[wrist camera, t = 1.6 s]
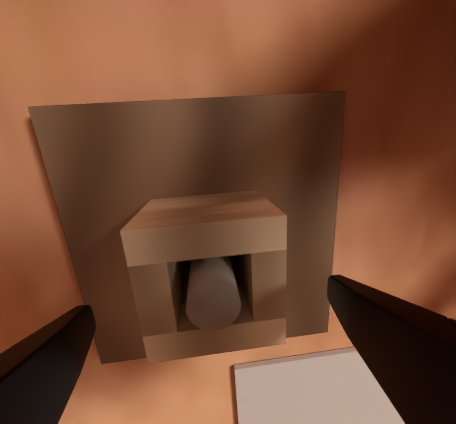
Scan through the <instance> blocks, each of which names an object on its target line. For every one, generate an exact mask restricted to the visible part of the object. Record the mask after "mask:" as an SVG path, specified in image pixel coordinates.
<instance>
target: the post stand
mask: <svg viewBox="0 0 456 424" xmlns="http://www.w3.org/2000/svg"><path fill="white" fill-rule="evenodd" d="M344 101H345V91H336V92H316V93H296V94H275V95H255V96H235V97H214V98H194V99H174V100H153V101H133V102H113V103H93V104H72V105H52V106H32V107H28V109H29V113H30V116H31V120H32V123H33V127H34V130H35V134H36V137H37V141H38V144H39V148H40V151H41V155H42V158H43V162H44V165H45V169H46V172H47V176H48V179H49V183H50V186H51V190H52V193H53V196H54V200H55V203H56V207H57V210H58V214H59V217H60V221H61V224H62V228H63V231H64V235H65V238H66V242H67V245H68V249H69V252H70V256H71V259H72V263H73V266H74V270H75V273H76V277H77V280H78V284H79V287H80V291H81V294H82V298H83V301H84V305H90V306H91V307H92V310H93V314H94V317H95V321H96V330H95V333H94V339H95V343H96V346H97V350H98V353H99V357H100V360H101V364H105V363H112V362H119V361H126V360H133V359H140V358H147V356H146V352H145V347H144V342H143V337H142V333H141V328H140V323H139V319H138V314H137V309H136V304H135V300H134V295H133V290H132V286H131V281H130V276H129V271H128V267H127V262H126V257H125V253H124V248H123V243H122V238H121V234H120V230H121V229H122V228H123V227H124V226H125V225H126V224H127V223H128V222H129V221H130V220H131V219H132V218H133V217H134V216H135V215H136V214H137V213H138V212H139V211H140V210H141V209H142V208H143V207H144V206H145V205H146V204H147V203H148V202H149V201H150V200H151V199H161V198H173V197H185V196H196V195H208V194H220V193H232V192H244V191H255V190H257V191H258V192H259V193H260V194H262V195H263V196H264V197H265V198H266V199H268V200H269V201H270V202H271V203H273V204H274V205H275V206H276V207H278V208H279V209H280V210H281V211H282V212H284V213H285V214H286V215H287V263H286V338H289V337H296V336H303V335H310V334H317V333H324V332H328V320H329V306H330V302H329V300H328V298H327V284H328V277H329V276H332V265H333V252H334V238H335V224H336V211H337V197H338V183H339V170H340V156H341V142H342V128H343V115H344ZM232 264H237V257H236V255H232V256H222V257H213V258H204V259H195V260H185V266H186V269H190V274H189V283H188V293H187V303H186V313H187V316H188V318H189V320H190V321H191V322H192V323H193V324H194V325H195V326H197V327H199V328H201V329H204V330H220V329H223V328H225V327H227V326H229V325H230V324H232V323H233V322H234V321H235V320H236V319H237V317H238V315H239V313H240V310H241V301H240V297H239V293H238V289H237V285H236V280H235V276H234V272H233V268H232Z"/></svg>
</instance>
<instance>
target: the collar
mask: <svg viewBox="0 0 456 424" xmlns="http://www.w3.org/2000/svg"><path fill="white" fill-rule="evenodd" d="M120 234H121V238H122V243H123V248H124V253H125V257H126V262H127V267H128V271H129V276H130V281H131V286H132V290H133V295H134V300H135V304H136V309H137V314H138V319H139V323H140V328H141V333H142V337H143V342H144V347H145V352H146V356H147V361H148V363H155V362H162V361H169V360H176V359H183V358H190V357H197V356H204V355H211V354H218V353H225V352H231V351H238V350H245V349H252V348H259V347H266V346H273V345H280V344H286V263H287V215H286V214H285V213H284V212H282V211H281V210H280V209H279V208H278V207H276V206H275V205H274V204H273V203H271V202H270V201H269V200H268V199H266V198H265V197H264V196H263V195H262V194H260V193H259V192H258V191H257V190H255V191H244V192H232V193H220V194H208V195H196V196H185V197H173V198H161V199H151V200H150V201H149V202H148V203H147V204H146V205H145V206H144V207H143V208H142V209H141V210H140V211H139V212H138V213H137V214H136V215H135V216H134V217H133V218H132V219H131V220H130V221H129V222H128V223H127V224H126V225H125V226H124V227H123V228H122V229H121V230H120ZM232 255H236V257H237V264H232V268H233V272H234V276H235V280H236V285H237V289H238V293H239V297H240V301H241V310H240V313H239V315H238V317H237V319H236V320H235V321H234V322H233V323H232V324H230V325H229V326H227V327H225V328H223V329H220V330H204V329H201V328H199V327H197V326H195V325H194V324H193V323H192V322H191V321H190V320H189V318H188V316H187V313H186V303H187V293H188V283H189V274H190V269H186V266H185V260H195V259H204V258H213V257H222V256H232Z"/></svg>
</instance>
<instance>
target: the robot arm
mask: <svg viewBox="0 0 456 424" xmlns="http://www.w3.org/2000/svg"><path fill="white" fill-rule="evenodd" d="M327 298H328V300H329V302H330V304H331V306H332V308H333V310H334V312H335V314H336V316H337V318H338V319H339V321H340V323H341V325H342V327H343V329H344V331H345V333H346V334H347V336H348V338H349V339H350V341H351V342H352V344H353V345H354V347H355V349H356V350H357V352H358V353H359V355H360V356H361V358H362V359H363V361H364V362H365V364H366V365H367V367H368V368H369V370H370V371H371V373H372V374H373V376H374V377H375V379H376V380H377V382H378V383H379V385H380V386H381V388H382V389H383V391H384V393H385V394H386V396H387V397H388V399H389V400H390V402H391V403H392V405H393V406H394V408H395V409H396V411H397V412H398V414H399V415H400V417H401V418H402V420H403V421H404V423H405V424H456V320H454V319H451V318H447V317H446V316H443V315H441V314H438V313H436V312H433V311H431V310H428V309H425V308H423V307H420V306H418V305H415V304H413V303H410V302H408V301H405V300H403V299H400V298H398V297H395V296H392V295H390V294H387V293H385V292H382V291H380V290H377V289H375V288H372V287H370V286H367V285H365V284H362V283H359V282H357V281H354V280H352V279H349V278H347V277H344V276H342V275H332V276H329V277H328V284H327ZM95 330H96V321H95V317H94V314H93V310H92V307H91V306H90V305H80V306H76V307H75V308H73V309H71V310H70V311H68V312H67V313H65V314H63V315H62V316H60V317H59V318H57V319H55V320H54V321H52V322H51V323H49V324H47V325H46V326H44V327H42V328H41V329H39V330H38V331H36V332H34V333H33V334H31V335H30V336H28V337H26V338H25V339H23V340H22V341H20V342H18V343H17V344H15V345H14V346H12V347H10V348H9V349H7V350H6V351H4V352H2V353H1V354H0V424H58V422H59V420H60V418H61V416H62V413H63V411H64V409H65V407H66V405H67V402H68V400H69V398H70V396H71V394H72V391H73V389H74V387H75V385H76V383H77V380H78V378H79V376H80V373H81V370H82V368H83V365H84V362H85V359H86V356H87V353H88V351H89V348H90V345H91V342H92V339H93V336H94V333H95Z"/></svg>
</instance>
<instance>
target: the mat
mask: <svg viewBox="0 0 456 424" xmlns="http://www.w3.org/2000/svg"><path fill="white" fill-rule="evenodd" d="M234 373H235V387H236V400H237V414H238V424H405V423H404V421H403V420H402V418H401V417H400V415H399V414H398V412H397V411H396V409H395V408H394V406H393V405H392V403H391V402H390V400H389V399H388V397H387V396H386V394H385V393H384V391H383V389H382V388H381V386H380V385H379V383H378V382H377V380H376V379H375V377H374V376H373V374H372V373H371V371H370V370H369V368H368V367H367V365H366V364H365V362H364V361H363V359H362V358H361V356H360V355H359V353H358V352H357V350H356V349H355V347H351V348H344V349H337V350H331V351H324V352H317V353H310V354H304V355H297V356H290V357H284V358H277V359H270V360H263V361H257V362H250V363H243V364H237V365H234Z"/></svg>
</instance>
